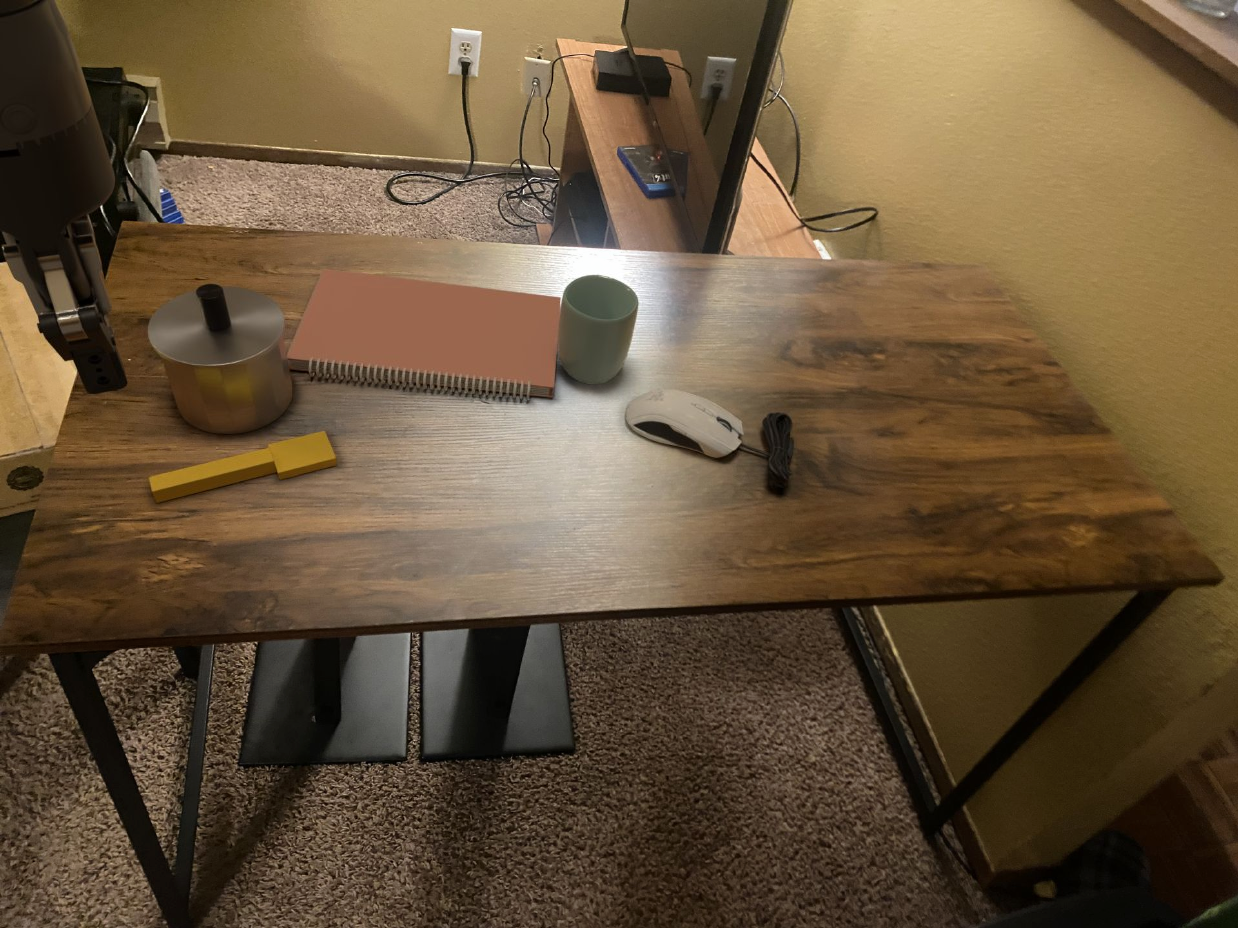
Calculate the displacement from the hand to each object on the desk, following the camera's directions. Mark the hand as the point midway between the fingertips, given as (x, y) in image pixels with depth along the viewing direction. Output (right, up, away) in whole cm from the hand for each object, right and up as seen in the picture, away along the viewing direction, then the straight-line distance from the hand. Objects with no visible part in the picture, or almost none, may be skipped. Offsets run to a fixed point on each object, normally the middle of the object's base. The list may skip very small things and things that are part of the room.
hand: (107, 383), depth 50 cm
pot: (-7, +2, +32) cm, 33 cm away
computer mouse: (+40, -2, +38) cm, 55 cm away
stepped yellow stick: (-3, -6, +26) cm, 27 cm away
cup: (+27, +5, +43) cm, 51 cm away
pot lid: (-6, +8, +26) cm, 28 cm away
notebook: (+10, +9, +42) cm, 44 cm away
